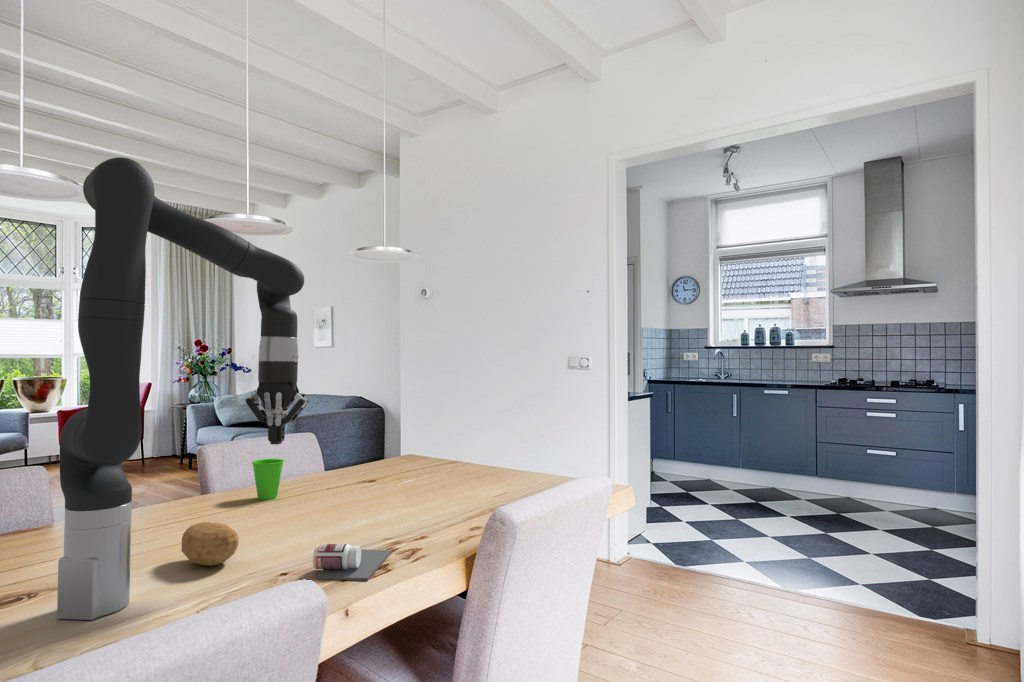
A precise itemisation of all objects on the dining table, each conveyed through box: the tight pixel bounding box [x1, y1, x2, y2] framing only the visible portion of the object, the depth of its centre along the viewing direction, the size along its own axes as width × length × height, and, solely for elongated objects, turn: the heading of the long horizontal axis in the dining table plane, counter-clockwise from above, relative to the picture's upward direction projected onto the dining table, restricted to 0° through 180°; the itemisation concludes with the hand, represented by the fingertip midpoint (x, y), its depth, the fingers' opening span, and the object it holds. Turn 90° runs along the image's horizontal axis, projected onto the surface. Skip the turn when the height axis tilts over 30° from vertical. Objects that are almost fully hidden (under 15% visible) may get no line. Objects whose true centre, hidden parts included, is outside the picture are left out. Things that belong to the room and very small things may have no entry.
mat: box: [315, 548, 392, 582], centre depth 120 cm, size 16×10×1 cm, turn 176°
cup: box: [251, 457, 285, 501], centre depth 175 cm, size 9×9×11 cm
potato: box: [181, 521, 240, 567], centre depth 120 cm, size 10×14×8 cm
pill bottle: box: [312, 543, 362, 570], centre depth 116 cm, size 5×5×8 cm
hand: (276, 443), depth 121 cm, fingers closed
